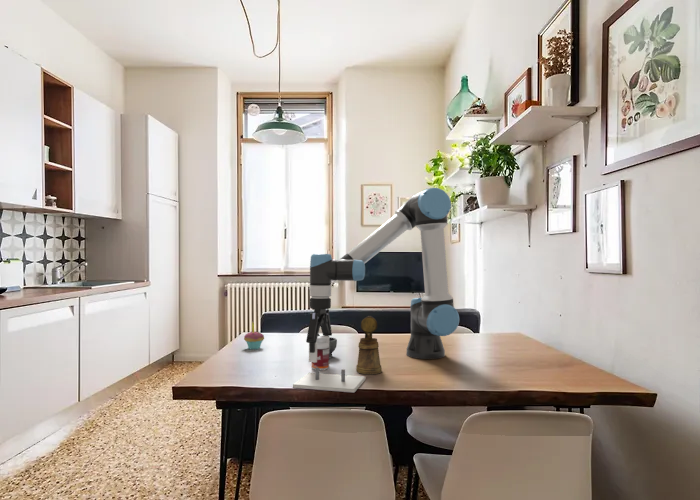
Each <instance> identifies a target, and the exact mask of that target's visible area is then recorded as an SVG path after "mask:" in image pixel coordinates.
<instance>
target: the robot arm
mask: <svg viewBox="0 0 700 500" xmlns="http://www.w3.org/2000/svg"><path fill="white" fill-rule="evenodd" d="M451 208H452V201H451V198H450V196H449V194H448V193H447V192H446V191H444V190H443V189H442V188H438V187H429V188H426V189H423V190H422V191H420V192H417V193H414V194H413V195H412V196H410V197H409V199H408V200H407V201H406V202H404V203H403V204H402V205H401V206H400V207H399V208H398V209H397V210H396V211H395V213H394V215H393V216H391V218H389V219H388V220H387V221H386V222H385V223H383V224H382V225H381V226H379V227H378V228H376V230H374V231H373V232H372V233H371V234H369V235H368V236H367V237H366V238H364V239H362V240H361V241H360V242H359V243H358V244H356V246H354V247H353V248H351V250H349V251H348V252H346V254H345V255H343V256H342V257H340V258H339V259H333V257H332V254H330V253H313V254H311V256H310V263H309V264H310V265H309V287H308V290H309V296H310V298H309V309H311V310H313V312H310V313H309V314H310V316H309V324H308V330H307V335H306V339H305V341H306V343H308V363H311V362H317V343H316V341H317V337H318V333H319V332H320V329H321V333H322V336H326V337H327V341H326V343H328V344H329V337H332V335H333V332H332V326H331V325H332V324H331V318H330V309H331V306H332V299H331V296H332V281H341V282H342V281H347V282H349V281H351V282H357V281H363V280H364V279H365V277H366V265H365V264H366V263H368V262H369V261H370V260H371V259H372V258H374V257H375V256H376V255H377V254H379V253H380V252H381V251H383V250H384V249H385V248H386V247H388V246H389V245H390V244H392V242H394V241H395V240H396V239H398V238H399V237H400V236H401V235H402V234H403V233H405V232H406V231H412V230H413V229H414V228H417V229H418V230H419V231H420V243H421V256H422V259H421V260H422V269H423V283H424V295H423V296H422V297H414V298H411V300H410V307H409V308H410V337H409V340H408V342H407V343H408V344H407V346H406V356H407V357H410V358H412V359H420V360H436V359H437V360H439V359H441V358H445V356H446V355H445V353H446V351H445V347H444V344H443V341H442V337H447V336H449V335H452V334H453V333H454V332H455V331H456V330H457V328H458V327H459V323H460V315H459V312H458V310H457V308H455V306H454V305H455V304H454V297H453V296H452V295H451V294H450V293H449V283H448V271H447V267H448V266H447V256H446V255H447V254H446V242H445V228H446V226H447V225H448V223H449V222H448V214H449V213H450V211H451ZM319 334H320V333H319Z"/></svg>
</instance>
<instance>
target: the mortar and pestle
mask: <svg viewBox="0 0 700 500" xmlns="http://www.w3.org/2000/svg"><path fill="white" fill-rule="evenodd" d="M318 336H320V333H318ZM337 344H338V339H337V338H336V337H332V336H329V359H331V358H333V353H334V351H336V348H337Z"/></svg>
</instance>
